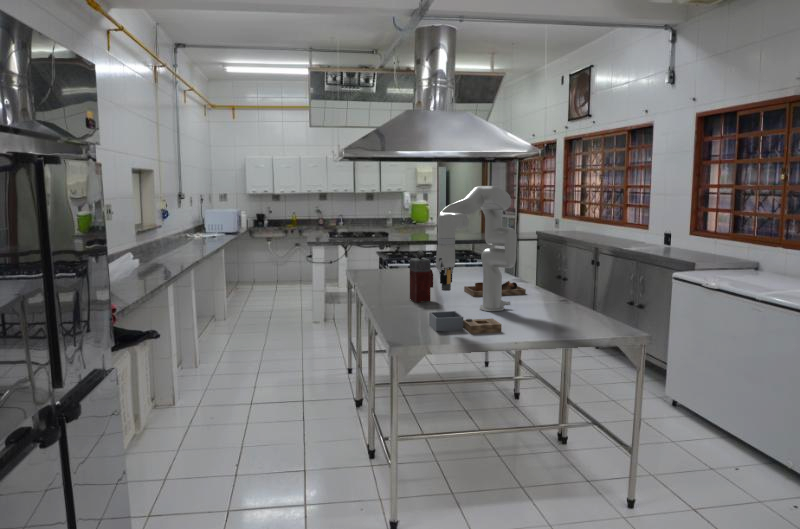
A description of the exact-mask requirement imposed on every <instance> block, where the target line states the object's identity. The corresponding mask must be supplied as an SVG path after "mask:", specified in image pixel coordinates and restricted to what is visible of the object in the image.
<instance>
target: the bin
mask: <svg viewBox="0 0 800 529" xmlns="http://www.w3.org/2000/svg"><path fill="white" fill-rule="evenodd" d="M428 315H429V316H428V317H429V318H428V323H429V324H428V326H430V327H431V329H432V330H433V331H435V332H436V331H443V332H457V331H460V330H461V331H464V328H463V320H464V316H462V315H461V314H460V313H459V312H457V311H456V310H448V311H447V310H446V311H429V312H428ZM461 331H460V332H461Z"/></svg>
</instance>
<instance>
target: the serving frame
mask: <svg viewBox="0 0 800 529" xmlns="http://www.w3.org/2000/svg"><path fill="white" fill-rule="evenodd" d="M473 289H475V285H472V286H471V285H470V286H469V285H468V286H466V285H465V286H464V287H463V290H464V293H466V294H468V295H470V296H471V297H475V298H476V297H477V298H478V297H483V291H473ZM526 292H527V290H526V288H523V287H522V286H519V285H517V288H516V289H515V290H512V289H511V287H510V286H509V285H507V288H505V287H503V290H502V295H501V296H519V295H522V296H523V295H526Z"/></svg>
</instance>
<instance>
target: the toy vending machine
mask: <svg viewBox="0 0 800 529" xmlns="http://www.w3.org/2000/svg"><path fill="white" fill-rule="evenodd" d="M432 288H434V273H433V270H432V269H431V259H429V258H426V257H424V251H423V250H417V251H416V257H415V258H414V257H413V258H409V300H410V299H411V300H413V301H415V302H414V303H416V302H417V303H422V302H421V301H429V302H431V289H432ZM411 300H410V301H411ZM413 301H412V302H413Z"/></svg>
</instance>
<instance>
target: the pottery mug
mask: <svg viewBox="0 0 800 529" xmlns="http://www.w3.org/2000/svg"><path fill="white" fill-rule="evenodd" d="M507 285H509V286H510V287H511V289H512V290H515V289H516V288H517V286H518V284H517V283H516V282H510V280H508V281H505V282H504V283H502V290H503V287H505V288H507Z"/></svg>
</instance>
